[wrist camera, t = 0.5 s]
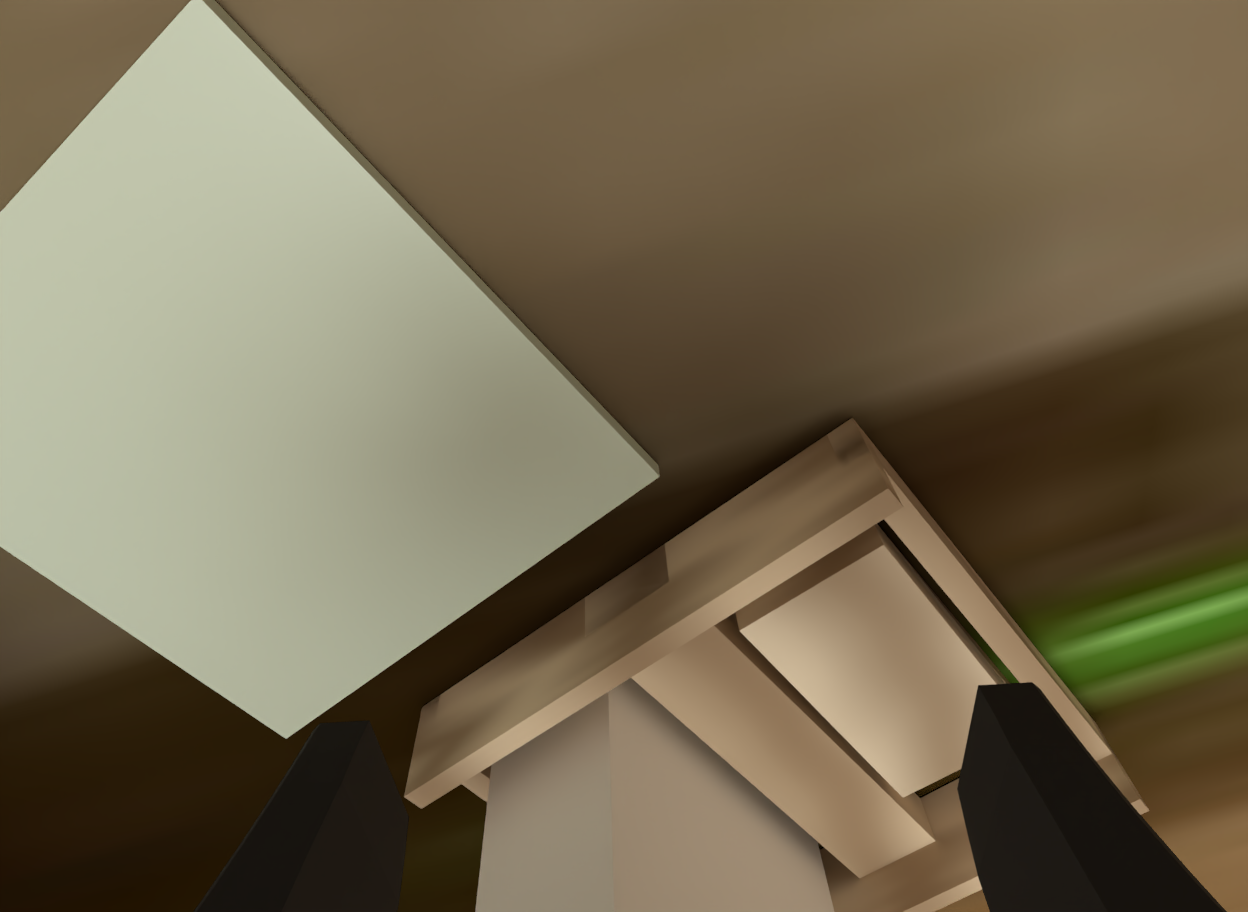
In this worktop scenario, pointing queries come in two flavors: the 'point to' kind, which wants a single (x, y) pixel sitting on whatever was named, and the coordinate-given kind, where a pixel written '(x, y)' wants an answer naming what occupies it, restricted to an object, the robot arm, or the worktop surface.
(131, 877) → the worktop surface
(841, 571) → the offcut upper
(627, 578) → the rack
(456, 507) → the board
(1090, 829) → the robot arm
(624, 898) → the beige rectangular block
